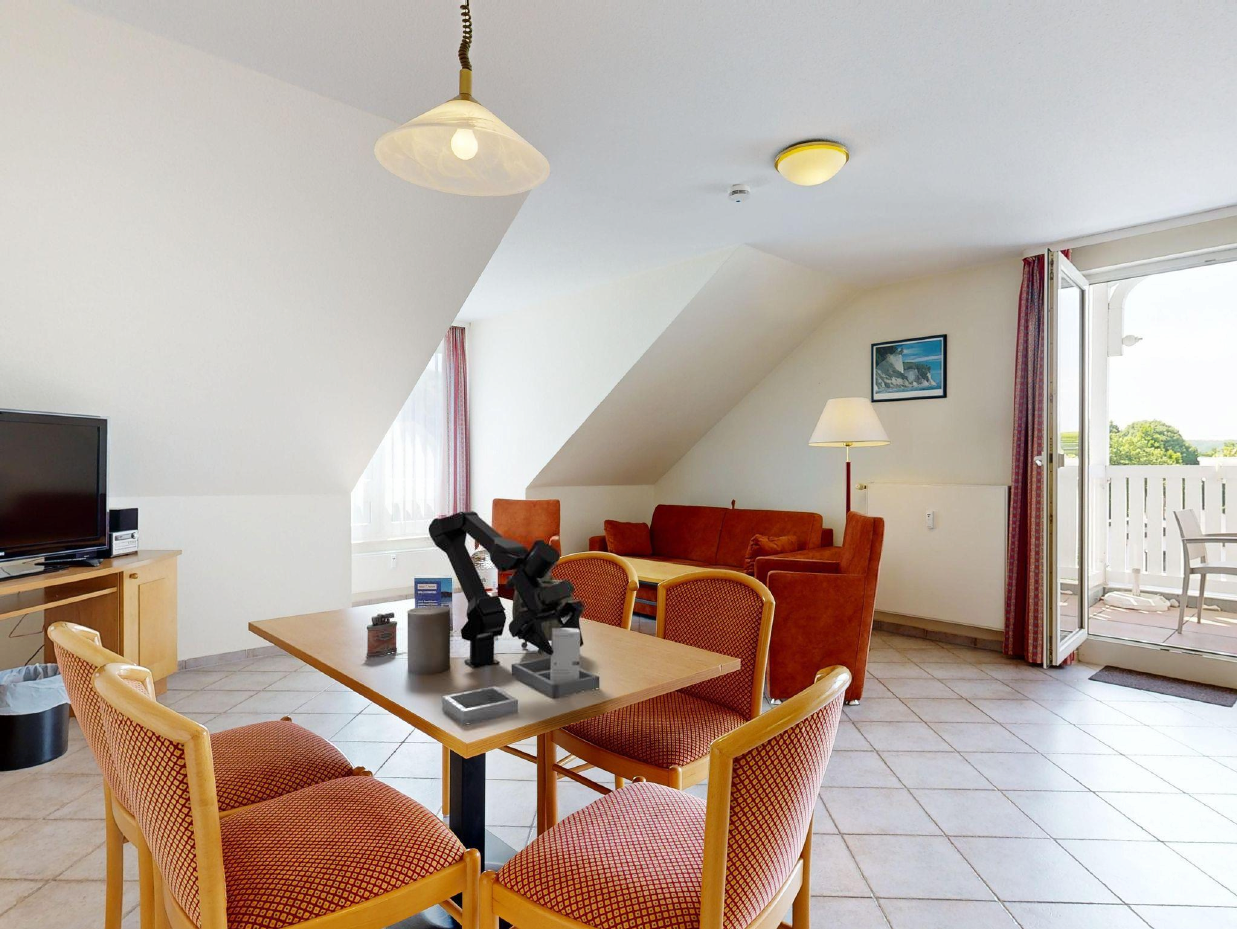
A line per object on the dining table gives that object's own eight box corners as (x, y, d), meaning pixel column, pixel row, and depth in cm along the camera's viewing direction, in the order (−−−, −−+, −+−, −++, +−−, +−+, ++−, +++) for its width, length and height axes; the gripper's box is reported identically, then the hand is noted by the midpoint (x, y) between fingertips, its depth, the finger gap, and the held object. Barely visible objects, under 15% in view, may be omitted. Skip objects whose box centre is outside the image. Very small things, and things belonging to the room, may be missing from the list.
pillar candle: (458, 664, 161) (458, 601, 162) (436, 676, 152) (436, 608, 152) (421, 662, 164) (421, 599, 164) (398, 673, 155) (398, 606, 155)
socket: (442, 709, 131) (442, 696, 131) (494, 698, 137) (495, 686, 137) (463, 725, 123) (463, 711, 123) (517, 713, 129) (518, 699, 129)
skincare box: (550, 690, 143) (551, 632, 143) (549, 684, 147) (550, 627, 147) (580, 689, 144) (580, 631, 144) (578, 683, 148) (578, 627, 148)
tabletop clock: (573, 648, 177) (574, 552, 177) (567, 657, 168) (568, 556, 168) (518, 646, 179) (519, 551, 179) (509, 655, 170) (510, 555, 170)
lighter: (371, 658, 166) (371, 617, 166) (363, 656, 168) (364, 615, 169) (399, 651, 173) (400, 612, 173) (391, 649, 175) (392, 610, 175)
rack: (511, 675, 153) (511, 664, 153) (553, 667, 160) (553, 656, 160) (554, 698, 138) (554, 685, 138) (599, 688, 144) (599, 676, 144)
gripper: (518, 573, 141) (555, 635, 134) (579, 564, 156) (616, 619, 149) (492, 606, 146) (527, 667, 139) (554, 594, 161) (588, 649, 153)
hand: (567, 649), depth 145 cm, fingers open, 9 cm apart
